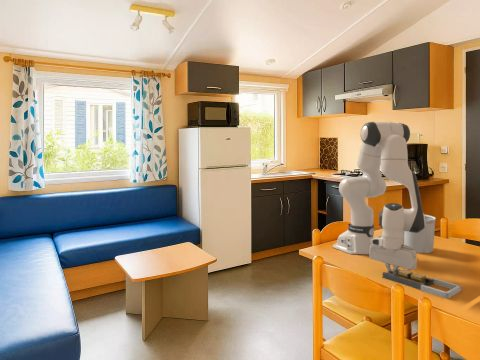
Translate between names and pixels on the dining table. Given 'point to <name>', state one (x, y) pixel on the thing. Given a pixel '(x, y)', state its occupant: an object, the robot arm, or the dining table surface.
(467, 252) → the dining table surface
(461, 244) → the dining table surface
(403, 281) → the slot bed
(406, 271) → the tan yellow cube
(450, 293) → the tray
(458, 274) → the dining table surface
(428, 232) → the utensil holder
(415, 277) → the yellow cube
